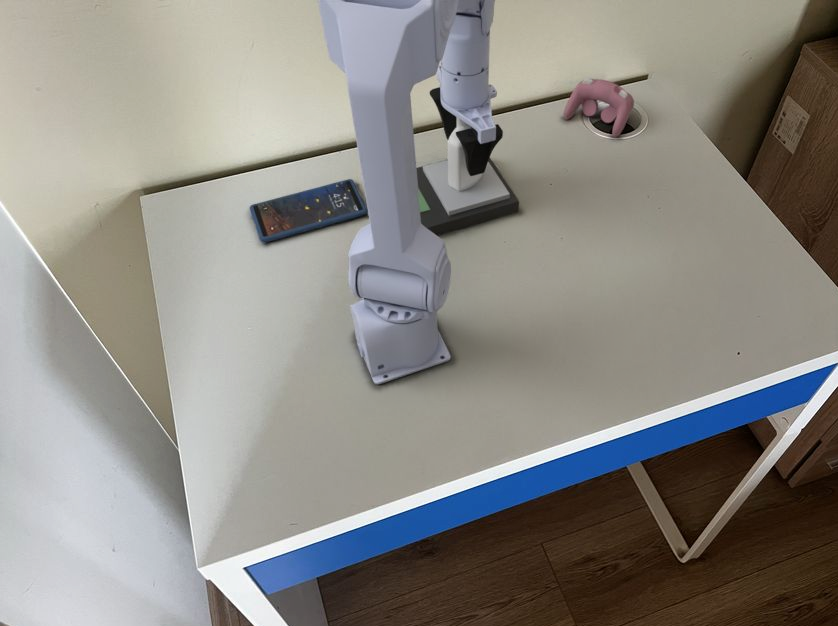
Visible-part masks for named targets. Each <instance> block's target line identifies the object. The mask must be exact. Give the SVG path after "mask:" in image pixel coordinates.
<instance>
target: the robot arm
mask: <svg viewBox="0 0 838 626" xmlns="http://www.w3.org/2000/svg"><path fill="white" fill-rule="evenodd" d="M495 2H496V0H317V3H318V7H319V8H318V9H319V14H320V20H321V25H322V31H323V36H324V41H325V43H326V48H327V55H328V58H329V60H330V61H331V62H332V63H333V64H334V65H336V67H338V68H339V69H340V70H341V71H342V72H343V73H344V74H345V80H346V87H347V91H348V93H347V94H348V99H349V104H350V111H351V117H352V122H353V123H352V124H353V129H354V136H355V142H356V148H357V153H358V160H359V164H360V165H359V166H360V171H361V177H362V184H363V190H364V196H365V201H366V209H367V214H368V218H369V219H368V220H369V223H367V224H364V225H363V226H362V227H361V228H360V229H359V230H358V231H357V233H356V235H355V237H354V239H353V241H352V242H351V245H350V248H349V251H348V255H347V256H348V273H347V276H348V277H347V279H348V287H349V290H350V291H351V293H352V295H353V297H355V298H356V299H361V300H359V301H356V302H355V303H353V304H350V306H349V308H350V309H349V310H350V313H351V319H352V324H353V328H354V333H355V335H354V336H355V339H356V346H357V349H358V352H359V355H360V357H361V358H363V359H364V362H365V364H366V367H367V370H368V372H369V375H370V377H371V379H372V381H373V383H374V384H375V385H381V384H384V383H387V382H390V381H393V380H396V379H399V378H402V377H405V376H408V375H411V374H414V373H417V372H419V371H423V370H426V369H429V368H431V367H435V366H437V365H440V364H444V363H446V362H449V361H450V360H451V353H450V351H449V349H448V347H447V345H446V344H445V341H444V339H443V337H442V335H441V333H440V331H439V329H438V311H440V310H441V309H442V308H443V306H444V305H445V303H446V300H447V297H448V292H449V289H450V285H451V284H450V283H451V276H452V262H451V260H450V259H449V256H448V252H447V251H448V250H447V248H446V243H445V241H444V240H443V239H442V238H441V237H440V236H439V235H435V234H434V233H433V232H431V231H430V230H428V229H427V228H426V227H425V226H423V225H422V224H421V217H420V205H419V193H418V181H417V169H416V168H417V159H416V158H417V157H416V145H415V133H414V121H413V108H412V98H411V93H412V90H413V88H414V86H415V85H416V84H419V83H421V82H423V81H426V80H427V79H430V78H432V77H434V76H436V80H437V81H438V83H439V86H438V87H435V88H432V89H431V90H430V91H429V96H430V97H431V99H432V100H433V102H434V104H435V106H436V109H437V111H438V114H439V116H440V119H441V123H442V129H443V131H444V135H445V137H446V140H447V141H448V140H449V137H450V135H451V134H452V132H453V131H454V129H455V128H456V127H457V117H458V118H459V119H461V120H462V121H464V122H465V123H467V124H468V125H470V126H471V129H470V128H469V129H465V130H462V131H458V132H456V136H457V138H458V139H459V141H460V143H461V145H462V147H463V150H464V154H465V161H466V167H467V171H468V173H469V175H470V176H474V175H478V174H482V173H484V172H485V169H486V166H487V163H488V160H489V158H491V155H492V153H493V151H494V149H495V148H496V146H497V145H498V143H499V142H500V141H501V140H502V139H503V135H504V131H503V129H502V128H501V126H500V125H499V124H497V123H496V124H495V123H494V120H493V112H492V111H493V110H492V103H491V102H492V101H491V99H495V98H496V97H497V95H498V91H497V89H496V88H495V86H494V85H493V84H491V83H489V80H490V48H491V47H490V44H491V43H490V42H491V41H490V40H491V28H492V25H493V23H494V17H495Z"/></svg>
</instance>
